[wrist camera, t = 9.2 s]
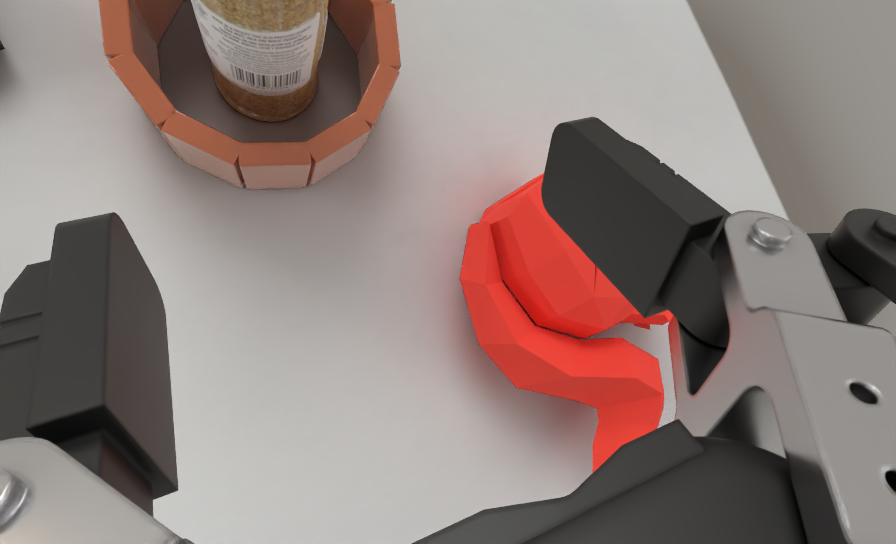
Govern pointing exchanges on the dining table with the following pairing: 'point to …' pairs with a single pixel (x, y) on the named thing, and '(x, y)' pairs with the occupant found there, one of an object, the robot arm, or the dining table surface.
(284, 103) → the sprinkles bottle
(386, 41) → the holder
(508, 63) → the dining table surface
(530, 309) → the animal figurine
